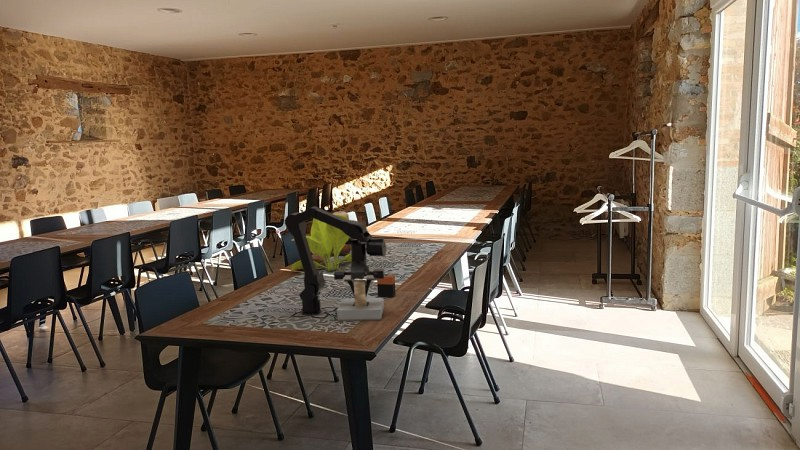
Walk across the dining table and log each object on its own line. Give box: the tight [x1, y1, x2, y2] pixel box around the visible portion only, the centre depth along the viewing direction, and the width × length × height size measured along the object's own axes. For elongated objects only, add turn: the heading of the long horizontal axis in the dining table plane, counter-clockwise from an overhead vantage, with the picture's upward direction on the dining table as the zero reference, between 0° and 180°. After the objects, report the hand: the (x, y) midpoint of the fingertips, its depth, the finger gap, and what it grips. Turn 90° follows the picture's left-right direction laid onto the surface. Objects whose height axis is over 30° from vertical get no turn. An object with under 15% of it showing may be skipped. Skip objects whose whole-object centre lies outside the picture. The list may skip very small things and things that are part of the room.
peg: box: [353, 279, 367, 306], centre depth 235 cm, size 4×4×10 cm
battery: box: [376, 272, 397, 298], centre depth 261 cm, size 4×7×10 cm, turn 73°
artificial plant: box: [290, 215, 351, 272], centre depth 318 cm, size 42×43×30 cm
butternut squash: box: [332, 210, 351, 256], centre depth 355 cm, size 14×13×25 cm
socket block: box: [336, 297, 385, 322], centre depth 236 cm, size 16×16×4 cm
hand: (360, 296), depth 236 cm, fingers closed on peg, 4 cm apart
